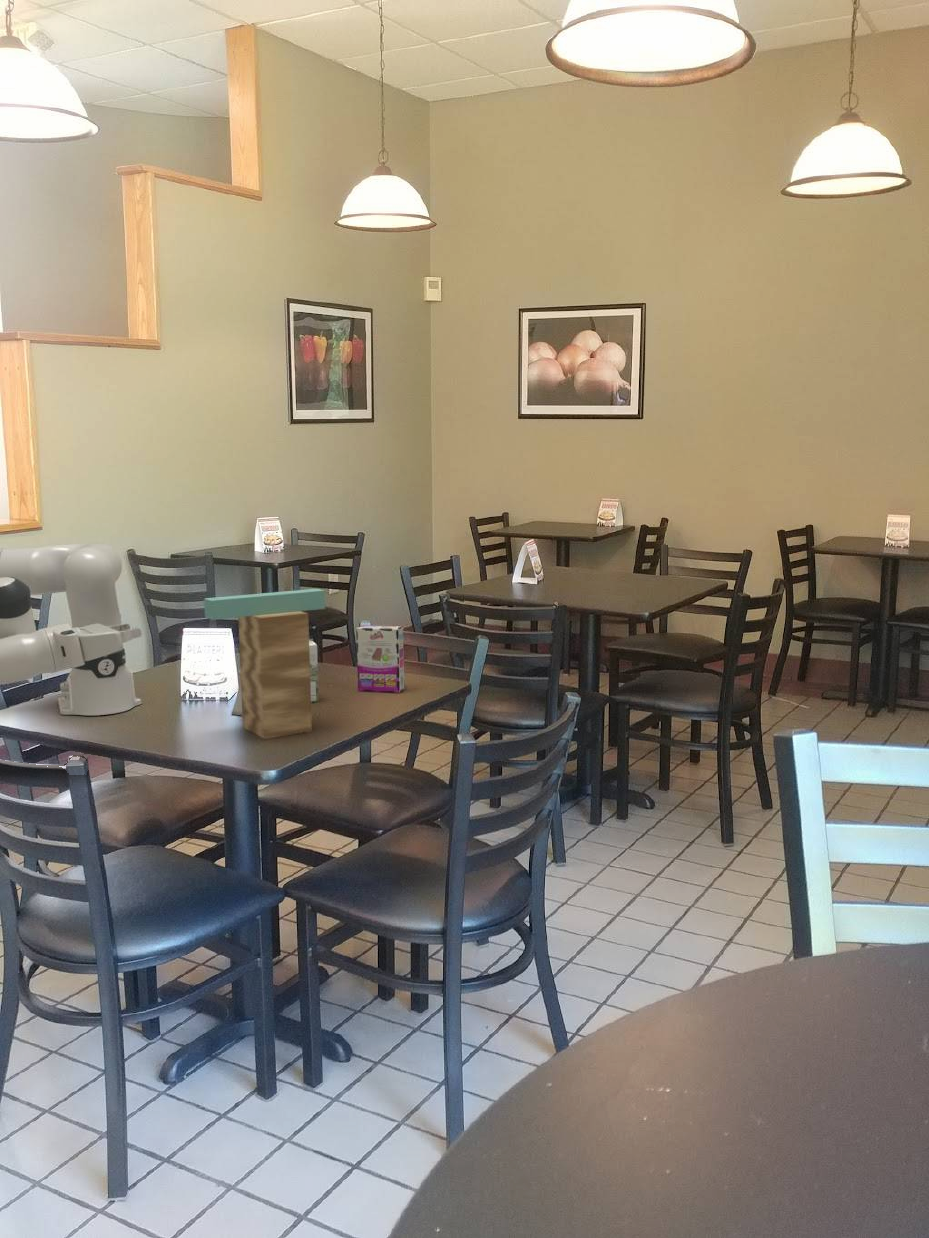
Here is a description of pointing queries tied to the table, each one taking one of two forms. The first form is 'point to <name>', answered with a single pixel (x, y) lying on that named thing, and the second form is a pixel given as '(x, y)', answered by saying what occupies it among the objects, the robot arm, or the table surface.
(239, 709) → the flask
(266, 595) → the teal block
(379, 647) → the candy bar box
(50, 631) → the robot arm
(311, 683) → the syrup box
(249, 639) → the oak stand
